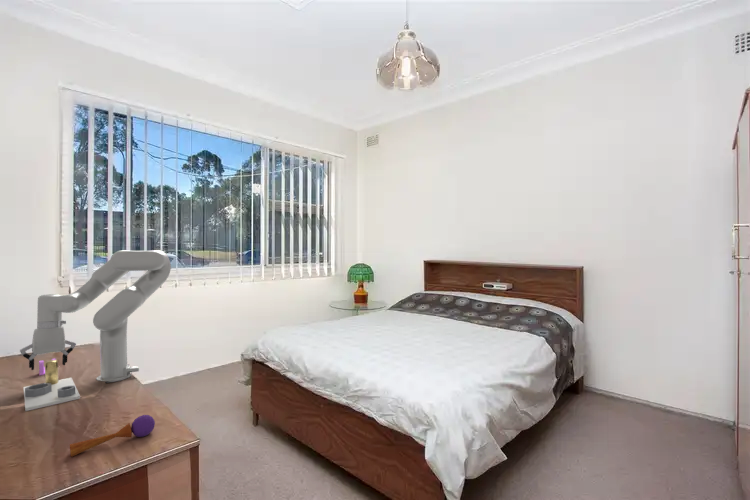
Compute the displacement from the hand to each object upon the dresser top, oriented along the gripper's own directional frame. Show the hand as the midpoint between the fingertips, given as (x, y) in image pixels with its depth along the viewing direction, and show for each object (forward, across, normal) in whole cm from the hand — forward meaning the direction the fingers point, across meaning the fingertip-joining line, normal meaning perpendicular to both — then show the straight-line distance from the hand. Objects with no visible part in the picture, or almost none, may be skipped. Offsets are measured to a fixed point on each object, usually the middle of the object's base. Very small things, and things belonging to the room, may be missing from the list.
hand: (48, 366), depth 154 cm
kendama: (+7, -10, +73) cm, 74 cm away
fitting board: (+8, 0, +12) cm, 14 cm away
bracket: (+9, -1, -23) cm, 24 cm away
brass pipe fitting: (+7, -1, 0) cm, 7 cm away
